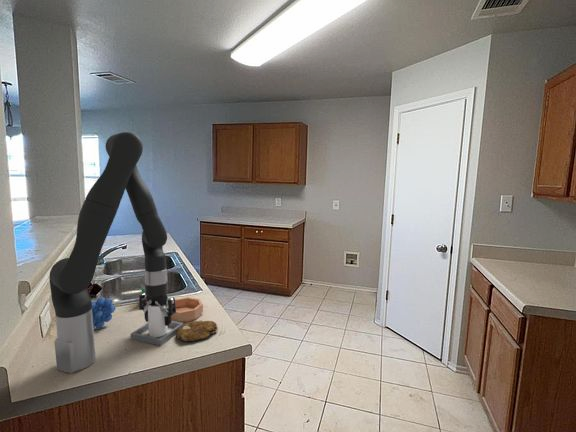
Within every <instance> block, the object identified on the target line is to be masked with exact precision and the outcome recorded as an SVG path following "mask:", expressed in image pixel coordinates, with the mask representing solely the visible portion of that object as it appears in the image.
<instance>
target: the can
mask: <svg viewBox="0 0 576 432" xmlns="http://www.w3.org/2000/svg"><path fill="white" fill-rule="evenodd" d="M162 307H163V308H165V307H166V305H164V306H162ZM166 311H167V310H166ZM147 323H148V326H149V329H148V334H149V335H148V336H152V337H156V338H162V337H163V336H164V335H166V334H167V333H168V332H169V329H168V328H169V326H165V315H164V313H163V312H161V311H160V308H159V306H157V305H153V304H151V305H149V306H148V322H147Z"/></svg>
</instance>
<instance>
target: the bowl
mask: <svg viewBox="0 0 576 432" xmlns="http://www.w3.org/2000/svg"><path fill="white" fill-rule="evenodd" d="M175 305H176V313H174V314H173V315H172V316H171V321H175V322H181V323H184V324H185V323H189V322H194V321H196V320H197V319H199V318H200V317H201V316H202V315H203V314H202V313H204V307H203V306H204V304H203V302H202V300H201V299H200V298H195V297H189V296H188V297H181V298H175Z"/></svg>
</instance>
